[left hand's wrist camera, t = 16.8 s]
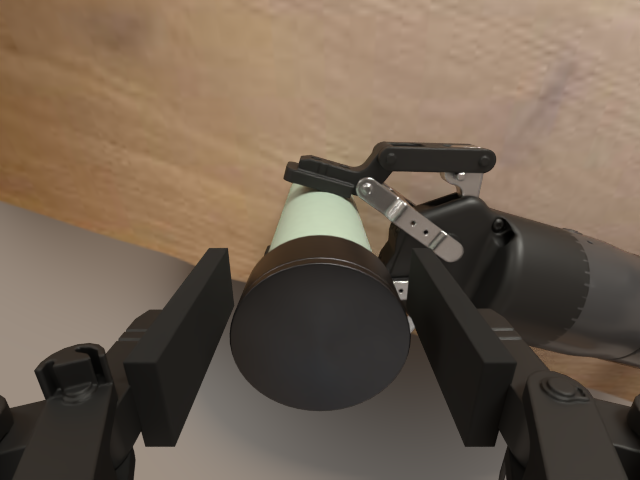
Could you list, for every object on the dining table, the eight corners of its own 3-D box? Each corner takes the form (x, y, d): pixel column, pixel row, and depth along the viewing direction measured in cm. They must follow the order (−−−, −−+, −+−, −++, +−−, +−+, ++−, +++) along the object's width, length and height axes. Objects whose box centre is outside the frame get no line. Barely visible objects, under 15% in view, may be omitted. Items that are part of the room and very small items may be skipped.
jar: (288, 167, 25) (243, 260, 10) (354, 168, 25) (401, 264, 10) (288, 228, 26) (250, 382, 12) (349, 230, 27) (385, 385, 12)
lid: (424, 316, 13) (444, 358, 11) (307, 385, 14) (305, 435, 12) (336, 202, 11) (339, 225, 9) (212, 292, 12) (191, 330, 10)
